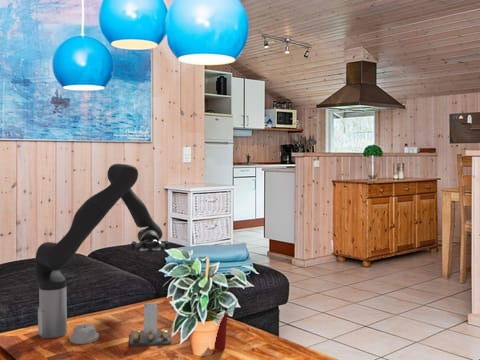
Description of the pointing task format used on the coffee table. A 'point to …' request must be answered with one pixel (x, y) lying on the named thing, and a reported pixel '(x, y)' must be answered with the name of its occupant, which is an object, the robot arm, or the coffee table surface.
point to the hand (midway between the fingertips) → (150, 249)
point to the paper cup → (221, 334)
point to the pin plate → (145, 341)
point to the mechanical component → (84, 334)
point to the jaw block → (150, 320)
